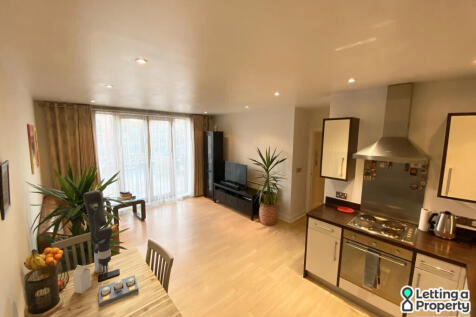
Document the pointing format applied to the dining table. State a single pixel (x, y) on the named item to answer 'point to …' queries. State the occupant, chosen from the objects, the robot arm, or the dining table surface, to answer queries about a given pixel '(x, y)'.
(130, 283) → the button
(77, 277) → the milk carton
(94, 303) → the dining table surface
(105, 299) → the button board
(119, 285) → the button
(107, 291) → the button
